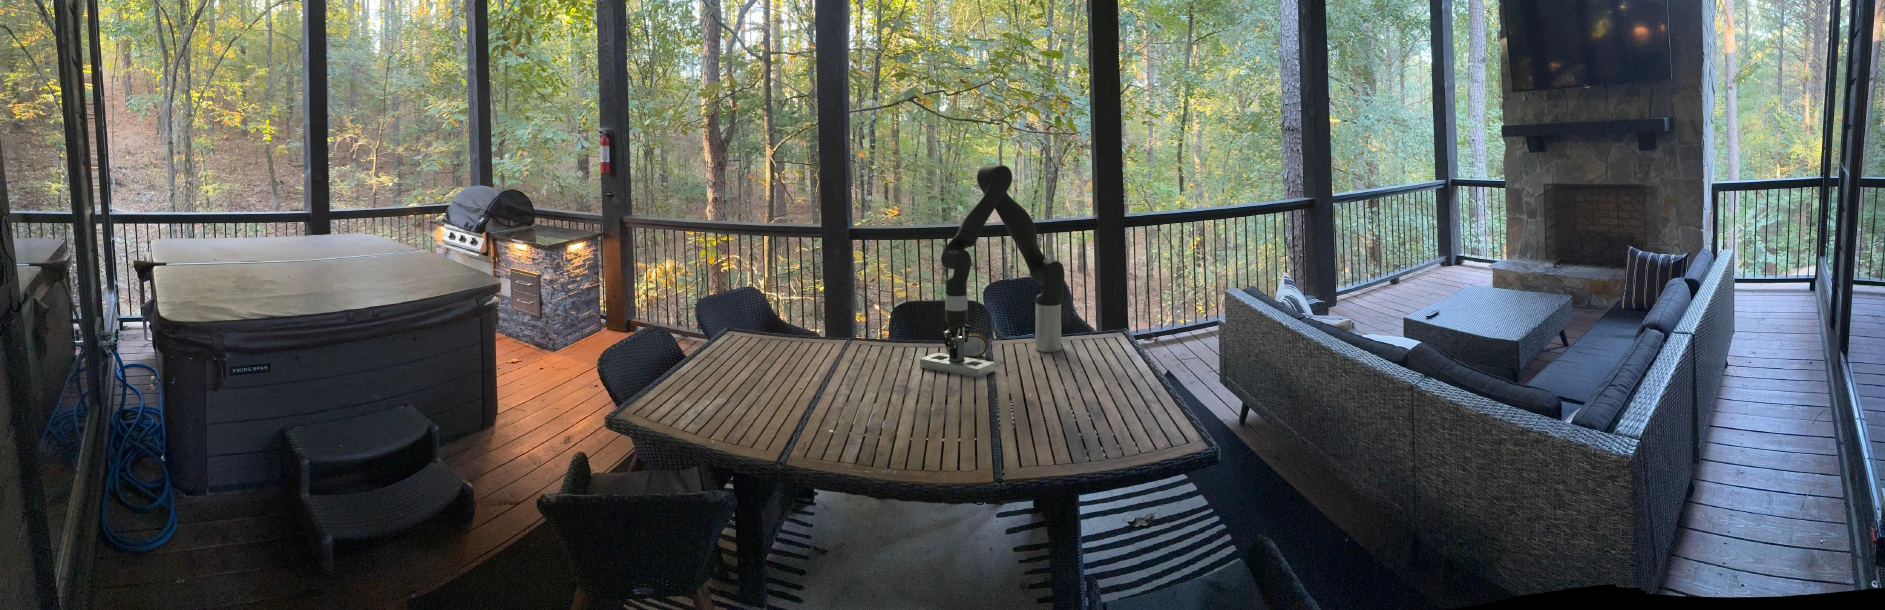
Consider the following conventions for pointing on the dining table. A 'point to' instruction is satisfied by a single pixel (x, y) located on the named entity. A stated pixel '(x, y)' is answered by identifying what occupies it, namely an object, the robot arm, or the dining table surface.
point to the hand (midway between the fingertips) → (956, 357)
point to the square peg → (958, 351)
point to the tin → (974, 345)
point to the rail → (957, 365)
